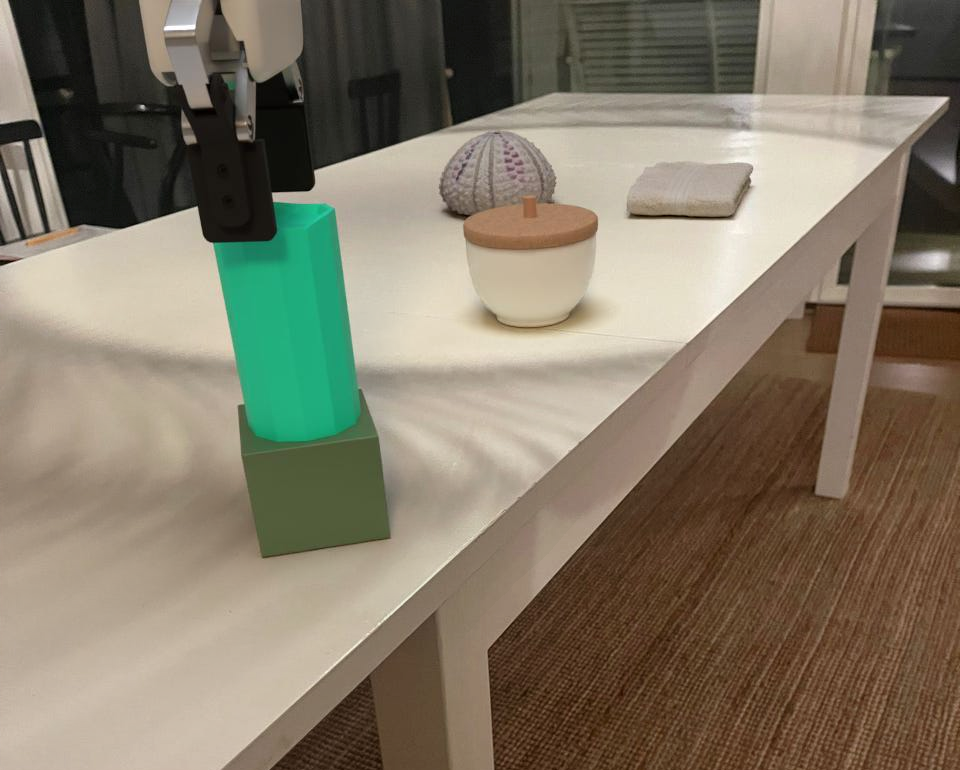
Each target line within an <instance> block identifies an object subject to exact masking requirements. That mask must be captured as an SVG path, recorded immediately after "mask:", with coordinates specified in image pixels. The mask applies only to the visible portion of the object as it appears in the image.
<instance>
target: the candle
mask: <svg viewBox="0 0 960 770" xmlns="http://www.w3.org/2000/svg"><path fill="white" fill-rule="evenodd" d="M273 204H274V211H275V217H276V224H277V233H276V235H275V236H274V238H273V239H272V240H270V241H261V242H228V243H212V245H213V251H214V255H215V261H216V265H217V266H216V267H217V271H218V276H219V282H220V285H221V291H222V297H223V302H224V308H225V311H226V317H227V322H228V327H229V332H230V338H231V344H232V348H233V353H234V359H235V364H236V368H237V373H238V378H239V383H240V388H241V389H240V390H241V393H242V399H243V404H245V409H246V415H247V420H248V425H249V427H250V428H251V430H252V431H253V432H254V434H255V435H256V436H258V437H262V438H265V439H269V440H273V441H276V442H299V441H311V440H315V439H320V438H324V437H328V436H333V435H337V434H338V433H340V432H342V431H344V430H346V429H347V428H349V427H351V426H353V425H355V424H356V422H357V420H358V418H359V416H360V414H361V408H360V400H359V392H358V389H359V385H358V379H357V370H356V363H355V361H356V360H355V354H354V347H353V339H352V332H351V331H352V330H351V324H350V323H351V322H350V315H349V314H350V313H349V307H348V300H347V292H346V291H347V290H346V285H345V276H344V268H343V261H342V252H341V244H340V237H339V229H338V223H337V222H338V220H337V214H336V208H335V207H334V206H331V205H330V204H327V203H297V202H280V201H273Z"/></svg>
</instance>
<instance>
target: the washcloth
mask: <svg viewBox="0 0 960 770" xmlns="http://www.w3.org/2000/svg"><path fill="white" fill-rule="evenodd" d="M753 171H754V165H753V164H751V163H748V162H727V163H703V162H697V161H689V160H683V161H675V162H666V161H662V162H657V163H656V164H655V165H654V166H649V167H647V166H646V167H645V168H644V170H643V172H642V174H641V175H640V176H638V177H637V178H636V179H635V182H634V183H633V184H632V185H631V186H630V187H629V189H628V195H627V196H626V197H627V198H626V212H627V213H631V215H643V216H663V215H665V216H669V215H670V216H688V217H699V218H700V217H702V218H704V217H711V218H712V217H713V218H716V217H721V218H722V217H725V218H726V217H730V216H732V215H734V213H735V212H736V209H738V205H739V204H740V202H741V201H742V199H743V196H744V195H745V193H746V191H747V190H748V188H749V187H750V185H751V184H752V178H751V175H752V173H753Z"/></svg>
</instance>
